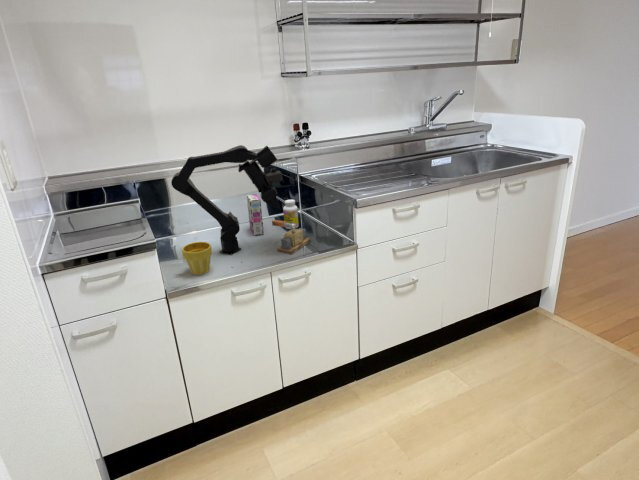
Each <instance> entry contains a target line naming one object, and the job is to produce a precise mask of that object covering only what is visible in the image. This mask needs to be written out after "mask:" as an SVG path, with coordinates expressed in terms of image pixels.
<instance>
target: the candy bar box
mask: <svg viewBox="0 0 639 480" xmlns="http://www.w3.org/2000/svg"><path fill="white" fill-rule="evenodd" d="M261 200H262V199H261V198H259V196H258V195H257V193H254V194H247V195H246V204H247V213H248V221H249V228H250V231H251V233H252V235H253V236H255V237H257V236H263V235H264V225H263V214H262V213H263V212H262V211H263V210H262V202H261Z"/></svg>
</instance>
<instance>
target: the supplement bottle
mask: <svg viewBox="0 0 639 480" xmlns="http://www.w3.org/2000/svg"><path fill="white" fill-rule="evenodd" d="M298 209H299V208H298V206H297V205H296V200H295V199H287V200H284V206H283V208H282V210H283V211H282V213H283V221H285V223H296V228H295V229H298V227H299V225H300V223H299V210H298ZM284 228H285V229H287V230H291V228H290V227H288V226H284Z"/></svg>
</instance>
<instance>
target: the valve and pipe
mask: <svg viewBox="0 0 639 480" xmlns="http://www.w3.org/2000/svg"><path fill="white" fill-rule="evenodd" d="M306 238H308V237H307V232H306V228H302V227H299V228H291V229H289V231H286V232H285V233H284V235H283V237H282V238H281V239H280V246H281V248H283V249H288V250H290V249H291V248H293V246H296V245H298V244H299V243H301V242H302V241H303V240H305V239H306Z"/></svg>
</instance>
